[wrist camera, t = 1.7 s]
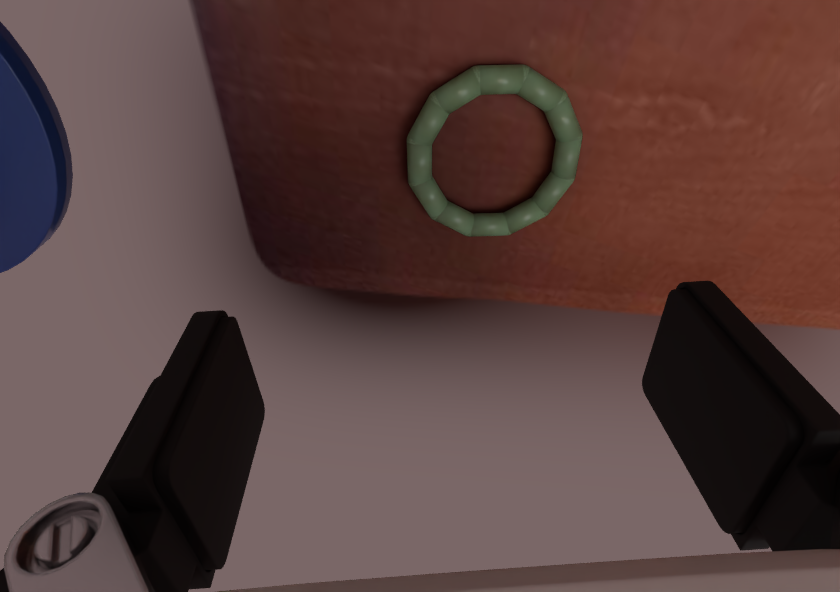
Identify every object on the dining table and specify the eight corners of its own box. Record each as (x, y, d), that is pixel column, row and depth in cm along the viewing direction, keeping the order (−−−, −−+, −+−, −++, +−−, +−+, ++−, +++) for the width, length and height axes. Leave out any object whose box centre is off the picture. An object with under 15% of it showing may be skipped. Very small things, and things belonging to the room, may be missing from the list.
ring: (409, 231, 27) (409, 242, 26) (404, 64, 22) (404, 70, 21) (561, 227, 27) (567, 237, 26) (590, 60, 22) (599, 65, 21)
